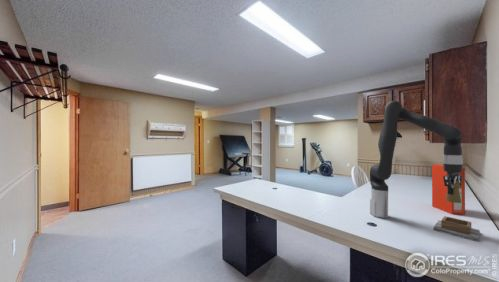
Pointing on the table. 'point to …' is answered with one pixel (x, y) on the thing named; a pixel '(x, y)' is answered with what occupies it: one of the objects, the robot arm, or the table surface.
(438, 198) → the file binder
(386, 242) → the table surface
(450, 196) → the cork
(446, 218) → the socket block
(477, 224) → the table surface
